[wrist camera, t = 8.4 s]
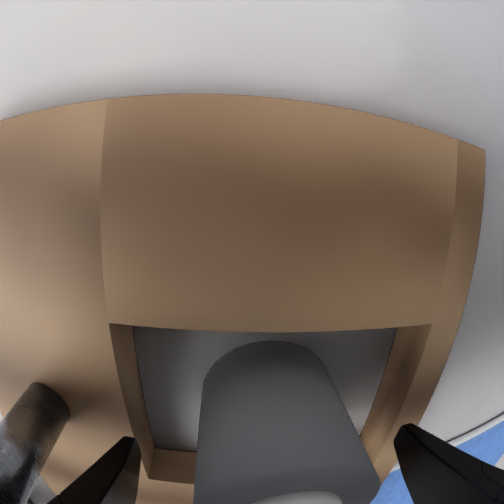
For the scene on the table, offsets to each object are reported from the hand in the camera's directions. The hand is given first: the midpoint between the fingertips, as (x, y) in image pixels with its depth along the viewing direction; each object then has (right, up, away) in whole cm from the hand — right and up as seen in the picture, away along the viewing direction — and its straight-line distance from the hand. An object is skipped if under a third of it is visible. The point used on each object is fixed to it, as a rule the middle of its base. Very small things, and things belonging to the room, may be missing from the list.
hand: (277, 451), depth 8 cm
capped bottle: (0, +1, +3) cm, 3 cm away
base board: (-3, +1, +3) cm, 4 cm away
